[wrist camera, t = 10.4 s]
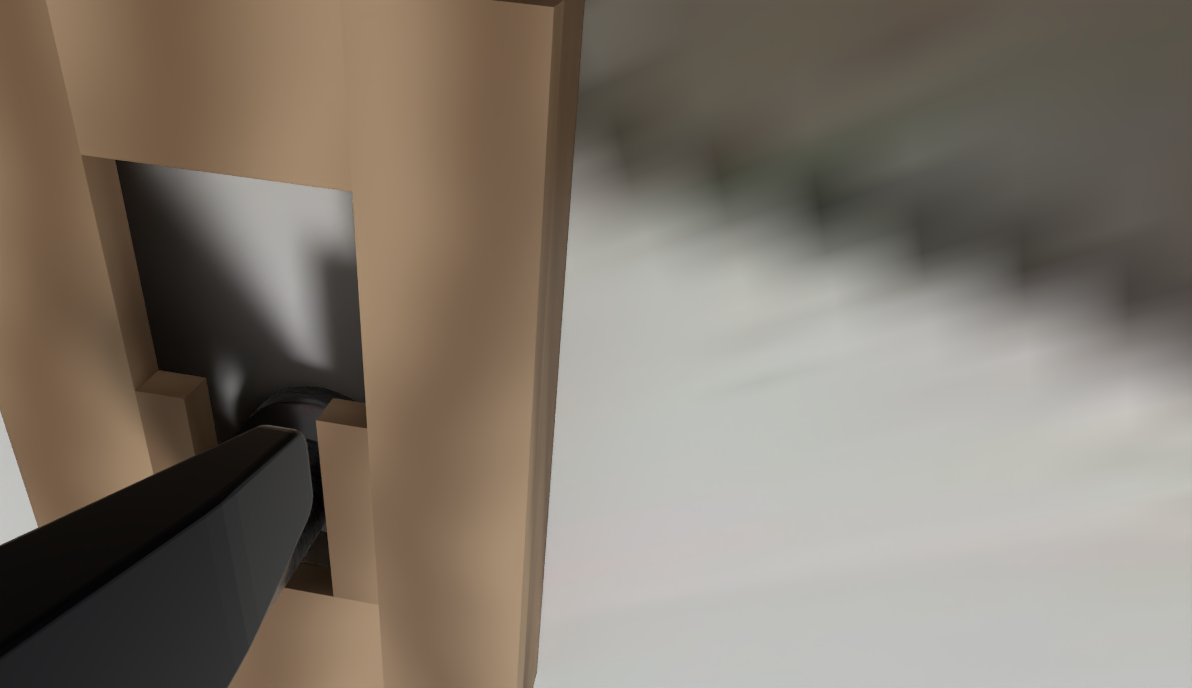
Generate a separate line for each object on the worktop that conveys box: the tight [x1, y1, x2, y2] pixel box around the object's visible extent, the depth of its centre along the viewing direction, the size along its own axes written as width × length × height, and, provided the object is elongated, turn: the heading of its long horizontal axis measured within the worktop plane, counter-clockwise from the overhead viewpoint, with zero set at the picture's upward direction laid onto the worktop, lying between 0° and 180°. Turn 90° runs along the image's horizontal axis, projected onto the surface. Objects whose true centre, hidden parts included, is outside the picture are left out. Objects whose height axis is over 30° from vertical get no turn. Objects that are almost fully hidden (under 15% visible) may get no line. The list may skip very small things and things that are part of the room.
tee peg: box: [237, 387, 353, 622], centre depth 21 cm, size 5×5×10 cm
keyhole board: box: [0, 0, 585, 688], centre depth 23 cm, size 14×22×4 cm, turn 175°
